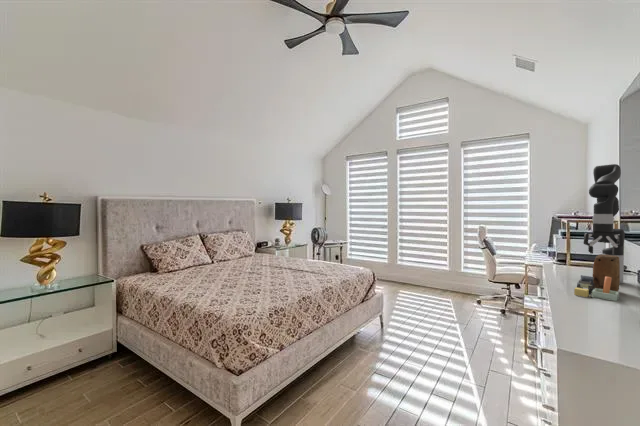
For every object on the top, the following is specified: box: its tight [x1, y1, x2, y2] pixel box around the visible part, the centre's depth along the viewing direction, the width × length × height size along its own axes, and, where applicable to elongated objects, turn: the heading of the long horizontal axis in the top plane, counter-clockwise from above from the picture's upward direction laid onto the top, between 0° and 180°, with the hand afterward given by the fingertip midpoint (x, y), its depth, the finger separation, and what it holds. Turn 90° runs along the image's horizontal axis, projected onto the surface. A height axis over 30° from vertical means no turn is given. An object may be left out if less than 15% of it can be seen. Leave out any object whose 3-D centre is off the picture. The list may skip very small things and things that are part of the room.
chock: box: [573, 286, 590, 298], centre depth 150 cm, size 4×5×4 cm
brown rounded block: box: [592, 254, 621, 292], centre depth 158 cm, size 11×8×20 cm
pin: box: [603, 277, 612, 294], centre depth 146 cm, size 2×2×10 cm
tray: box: [591, 288, 620, 302], centre depth 147 cm, size 9×9×3 cm
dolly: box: [576, 274, 594, 294], centre depth 157 cm, size 9×6×8 cm, turn 128°
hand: (602, 254), depth 145 cm, fingers open, 8 cm apart
